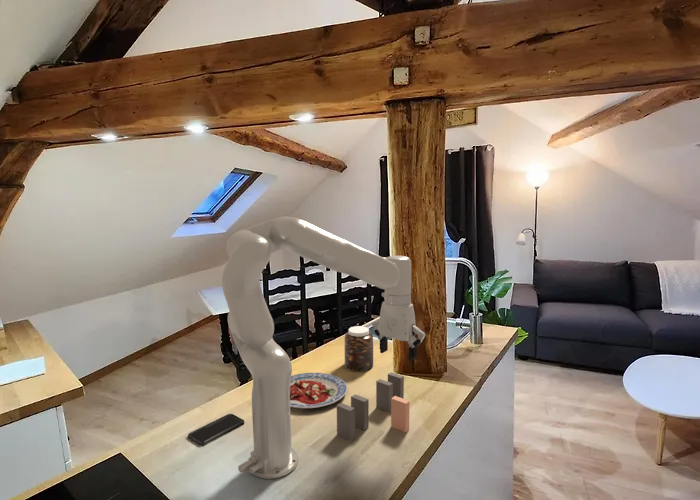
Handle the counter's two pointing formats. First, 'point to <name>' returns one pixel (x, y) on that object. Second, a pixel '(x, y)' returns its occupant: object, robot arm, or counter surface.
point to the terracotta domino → (400, 413)
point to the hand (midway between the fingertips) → (397, 355)
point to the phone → (216, 429)
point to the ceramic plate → (315, 390)
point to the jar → (358, 349)
